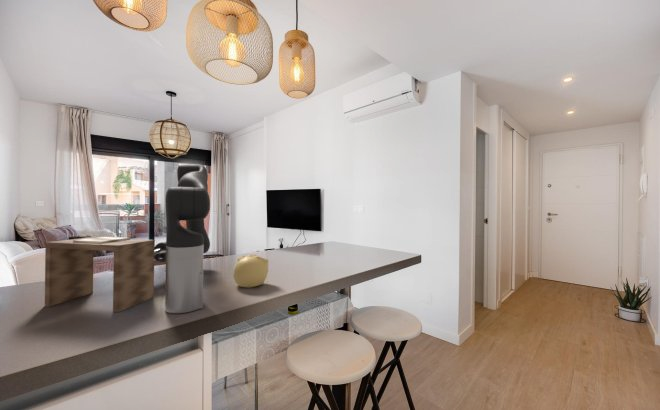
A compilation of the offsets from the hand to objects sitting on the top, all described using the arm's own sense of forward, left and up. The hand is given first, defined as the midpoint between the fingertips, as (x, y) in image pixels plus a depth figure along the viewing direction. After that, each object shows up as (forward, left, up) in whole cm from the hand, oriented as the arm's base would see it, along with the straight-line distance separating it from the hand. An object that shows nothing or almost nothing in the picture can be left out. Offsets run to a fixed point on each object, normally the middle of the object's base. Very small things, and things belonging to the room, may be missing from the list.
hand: (132, 259), depth 90 cm
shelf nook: (+6, +8, -10) cm, 14 cm away
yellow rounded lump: (-36, +7, -11) cm, 39 cm away
